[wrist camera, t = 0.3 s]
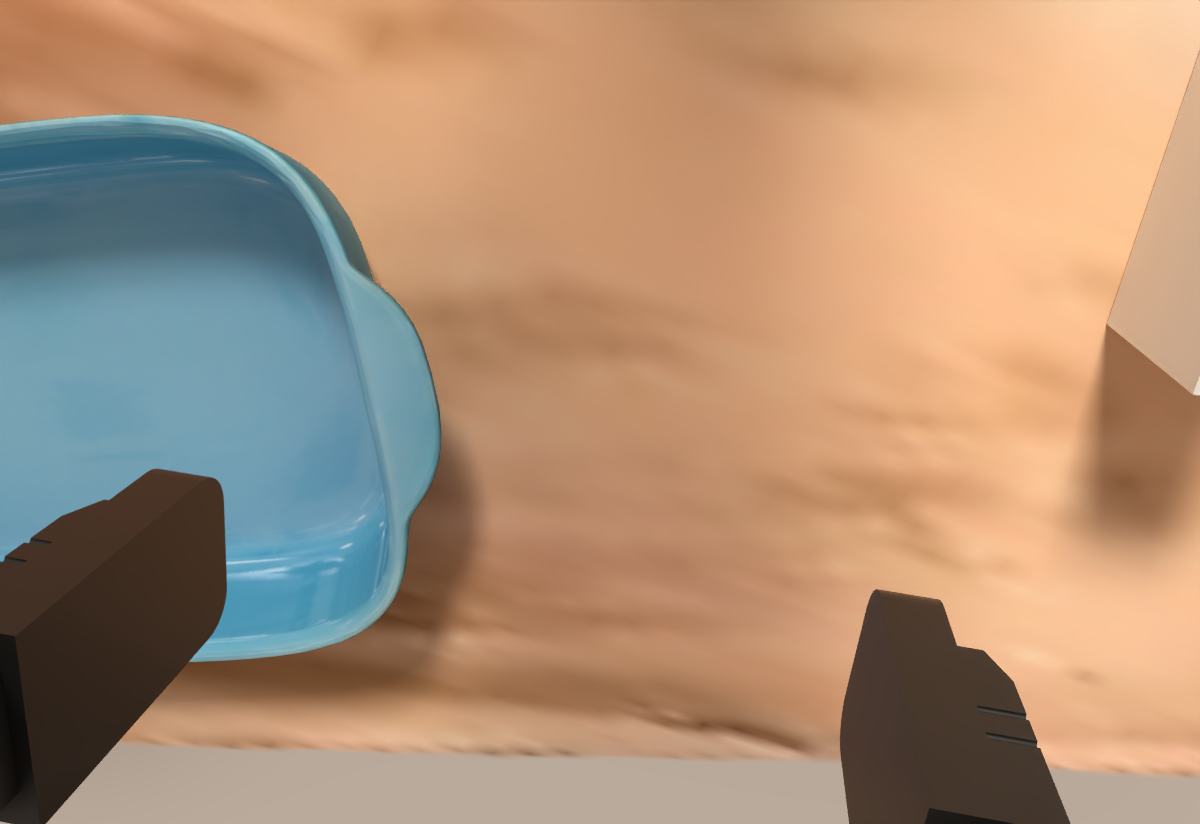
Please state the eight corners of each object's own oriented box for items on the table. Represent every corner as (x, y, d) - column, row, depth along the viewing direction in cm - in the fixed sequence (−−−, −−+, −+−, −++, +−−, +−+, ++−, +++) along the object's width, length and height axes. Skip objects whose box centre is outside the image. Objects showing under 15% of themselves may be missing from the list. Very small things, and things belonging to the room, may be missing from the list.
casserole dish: (-155, 603, 52) (-286, 685, 46) (-346, 173, 45) (-535, 198, 38) (522, 571, 46) (484, 661, 39) (432, 63, 39) (366, 69, 32)
